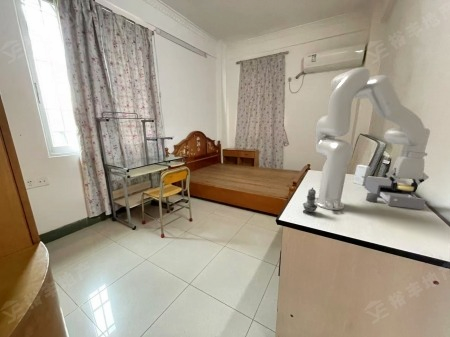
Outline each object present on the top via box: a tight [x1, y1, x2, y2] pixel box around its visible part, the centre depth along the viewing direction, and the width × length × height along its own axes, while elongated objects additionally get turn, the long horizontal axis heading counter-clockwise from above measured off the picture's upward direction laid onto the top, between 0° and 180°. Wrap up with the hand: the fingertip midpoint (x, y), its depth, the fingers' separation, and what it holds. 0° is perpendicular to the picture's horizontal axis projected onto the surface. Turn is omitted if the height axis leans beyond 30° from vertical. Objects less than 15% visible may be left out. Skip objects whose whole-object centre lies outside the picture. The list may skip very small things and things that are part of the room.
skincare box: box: [352, 164, 371, 186], centre depth 119 cm, size 6×4×12 cm
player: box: [364, 176, 415, 199], centre depth 104 cm, size 16×15×7 cm
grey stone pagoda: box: [302, 187, 318, 217], centre depth 81 cm, size 6×6×12 cm
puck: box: [365, 192, 378, 203], centre depth 95 cm, size 4×4×4 cm
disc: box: [397, 183, 414, 191], centre depth 90 cm, size 7×7×2 cm
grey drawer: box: [379, 191, 427, 210], centre depth 94 cm, size 16×13×5 cm
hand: (402, 190), depth 91 cm, fingers closed on disc, 6 cm apart
